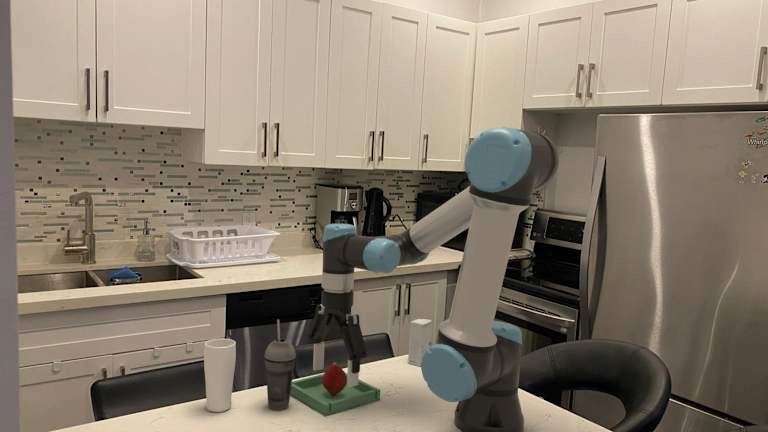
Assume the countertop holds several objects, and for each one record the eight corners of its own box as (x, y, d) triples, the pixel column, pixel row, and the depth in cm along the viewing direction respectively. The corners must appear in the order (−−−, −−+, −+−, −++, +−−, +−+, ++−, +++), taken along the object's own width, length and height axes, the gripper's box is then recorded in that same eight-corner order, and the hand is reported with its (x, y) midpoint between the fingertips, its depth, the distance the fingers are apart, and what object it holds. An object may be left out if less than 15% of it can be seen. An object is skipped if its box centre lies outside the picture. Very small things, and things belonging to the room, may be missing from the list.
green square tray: (379, 399, 144) (380, 389, 144) (325, 416, 133) (325, 405, 133) (339, 379, 156) (339, 370, 156) (286, 392, 145) (286, 382, 145)
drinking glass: (217, 417, 130) (219, 349, 129) (196, 408, 134) (197, 343, 132) (240, 407, 136) (242, 342, 134) (219, 399, 139) (221, 336, 138)
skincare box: (420, 367, 168) (423, 324, 167) (406, 363, 171) (409, 321, 170) (431, 361, 173) (433, 320, 172) (417, 358, 176) (419, 317, 175)
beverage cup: (275, 416, 132) (278, 327, 130) (255, 405, 137) (258, 319, 135) (301, 407, 137) (304, 321, 135) (281, 397, 142) (284, 314, 140)
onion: (347, 391, 147) (349, 359, 146) (344, 400, 141) (345, 367, 140) (323, 389, 147) (325, 357, 147) (319, 398, 142) (321, 365, 141)
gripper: (384, 297, 135) (381, 389, 137) (320, 279, 154) (317, 360, 156) (358, 301, 130) (355, 397, 132) (295, 282, 149) (292, 365, 151)
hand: (334, 377), depth 144 cm, fingers open, 13 cm apart
